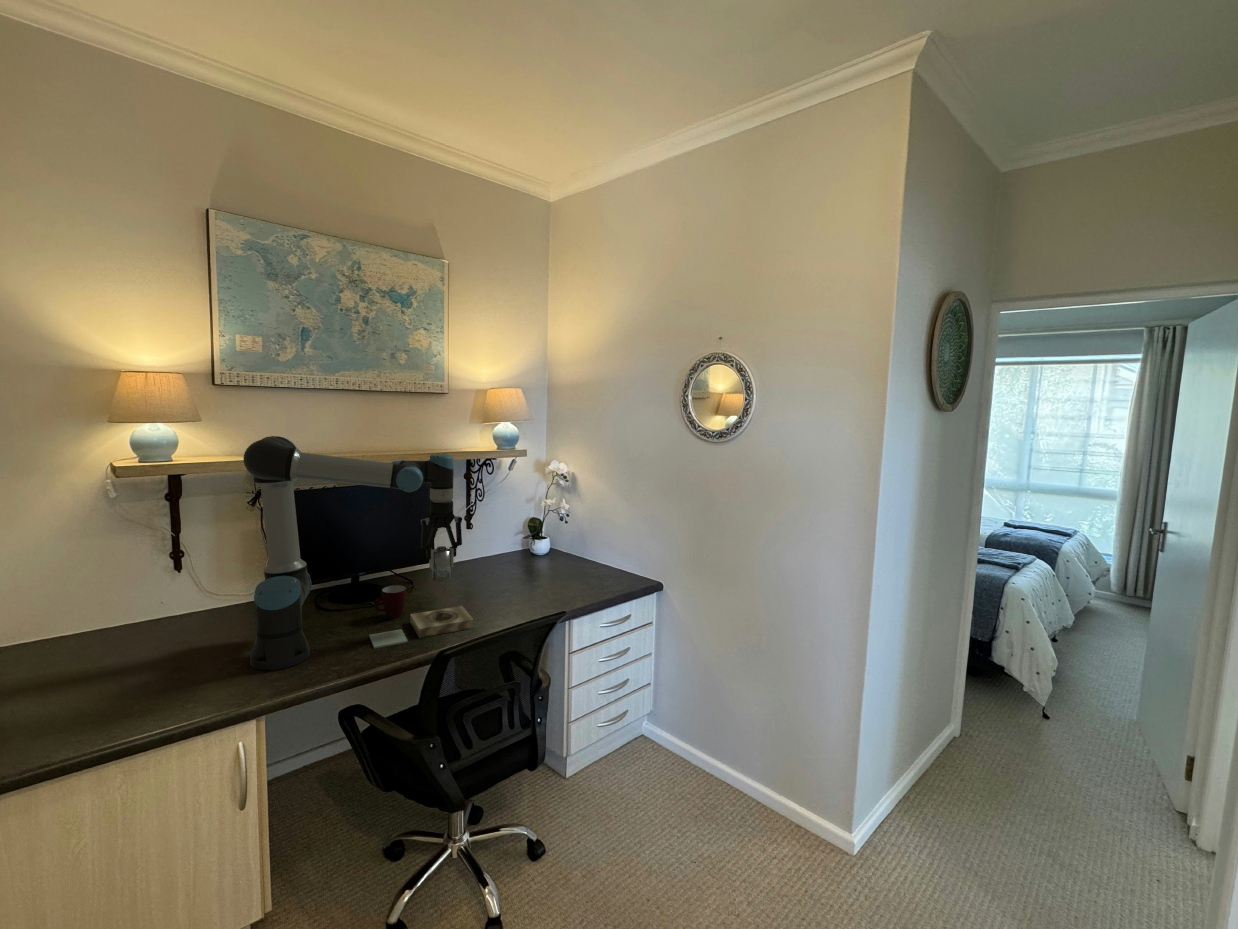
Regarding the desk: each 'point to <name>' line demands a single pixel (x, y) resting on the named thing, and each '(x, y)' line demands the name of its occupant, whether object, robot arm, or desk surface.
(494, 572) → the desk surface
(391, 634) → the mat
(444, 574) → the gray knobbed peg
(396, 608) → the mug
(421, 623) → the housing
